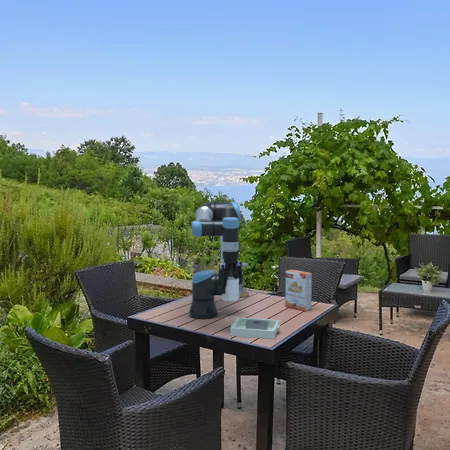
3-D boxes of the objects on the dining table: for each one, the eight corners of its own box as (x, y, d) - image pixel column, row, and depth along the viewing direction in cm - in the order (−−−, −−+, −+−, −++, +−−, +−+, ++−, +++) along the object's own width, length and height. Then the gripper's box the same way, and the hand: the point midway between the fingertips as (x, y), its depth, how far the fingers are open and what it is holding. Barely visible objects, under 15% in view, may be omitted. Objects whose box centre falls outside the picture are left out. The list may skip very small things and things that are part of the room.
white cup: (241, 298, 221) (241, 277, 221) (234, 302, 214) (234, 280, 214) (227, 297, 225) (227, 276, 224) (219, 300, 218) (219, 279, 218)
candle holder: (238, 299, 283) (238, 266, 281) (225, 295, 292) (225, 263, 290) (253, 295, 291) (253, 263, 289) (239, 292, 300) (239, 261, 298)
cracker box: (284, 307, 264) (285, 270, 262) (291, 305, 269) (291, 269, 267) (305, 311, 254) (305, 273, 252) (311, 309, 259) (312, 272, 257)
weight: (245, 329, 222) (245, 321, 222) (247, 326, 226) (247, 319, 226) (266, 330, 220) (266, 323, 219) (267, 327, 224) (268, 320, 223)
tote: (227, 337, 213) (227, 328, 213) (235, 326, 229) (235, 317, 229) (277, 341, 208) (277, 331, 207) (281, 329, 224) (281, 320, 224)
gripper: (221, 253, 208) (221, 304, 210) (251, 249, 223) (251, 296, 224) (209, 251, 214) (209, 301, 215) (239, 248, 228) (239, 294, 230)
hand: (230, 299), depth 220 cm, fingers closed on white cup, 7 cm apart
